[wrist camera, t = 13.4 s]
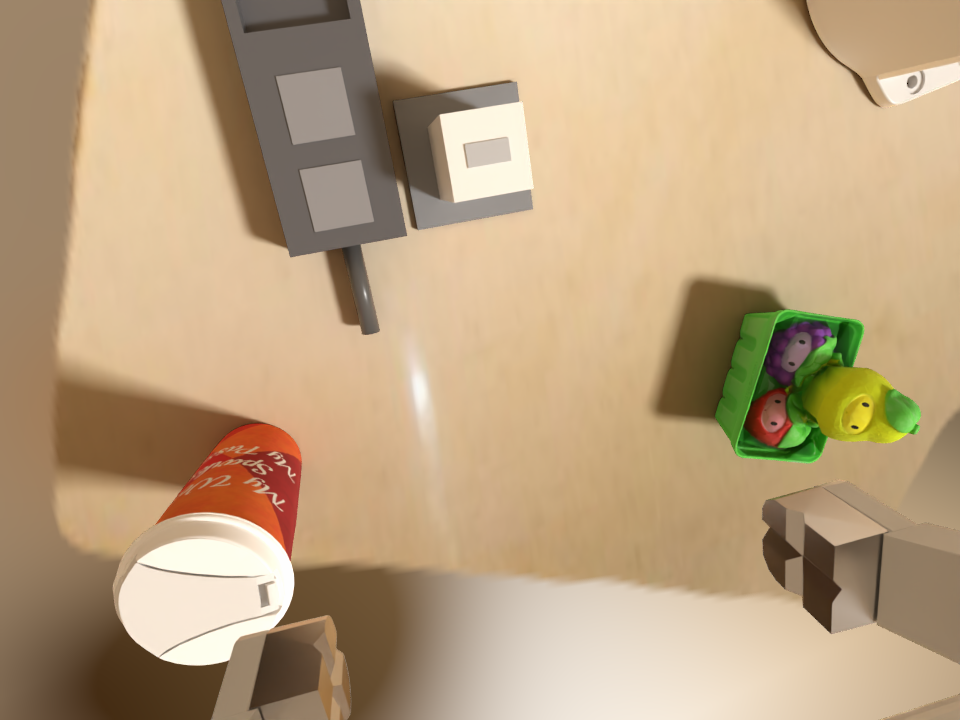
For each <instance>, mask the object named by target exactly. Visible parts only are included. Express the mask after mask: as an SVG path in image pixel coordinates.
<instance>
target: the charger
mask: <svg viewBox="0 0 960 720" xmlns="http://www.w3.org/2000/svg"><path fill="white" fill-rule="evenodd" d="M427 128H428V134H429V140H430V145H431V151H432V156H433V162H434V168H435V173H436V179H437V184H438V190H439V196H440V200H444V201H449V202H453V203H456V202H462V201H468V200H473V199H479V198H484V197H490V196H495V195H501V194H507V193H512V192H518V191H523V190H529V189H534V188H533V180H532V172H531V164H530V157H529V149H528V141H527V133H526V125H525V117H524V109H523V101H522V102H516V103H509V104H503V105H497V106H490V107H484V108H478V109H472V110H465V111H459V112H453V113H446V114H440V115H439V116H438V117H437V118H436V119H435V120H434V121H433V122H432V123H431V124H430V125H429V126H428V127H427Z"/></svg>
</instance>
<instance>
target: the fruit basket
mask: <svg viewBox="0 0 960 720" xmlns="http://www.w3.org/2000/svg"><path fill="white" fill-rule="evenodd" d="M863 334H864V326H863V324H862V323H861V322H860V321H859V320H855V319H847V318H841V317H834V316H827V315H820V314H814V313H807V312H802V311H796V310H790V309H787V310H779V311H776V312H767V313H748V314H746V315H745V316H744V319H743V322H742V326H741V329H740V337H741V338H740V339H739V340H738V342H737V343H736V346H735V349H734V353H733V356H732V360H731V366H732V368H730V370H729V372H728V373H727V377H726V380H725V383H724V387H723V397H722V398H721V400H720V401H719V404H718V407H717V410H716V414H715V418H716V419H717V421H718V423H719V424H720V426H721V427H722V429H723V430H724V432H725V433H726V435H727V436H728V438H729V439H730V441H731V445H732V447H733V449H734V451H735V453H736V454H737V455H738V456H739V457H742V458H754V459H766V460H778V461H788V462H798V463H813V462H815V461H816V460H818V459H819V458H820V456H821V455H822V452H823V449H824V446H825V443H826V441H827V438H828V437H830V438H832V439H836V440H840V441H851V442H856V441H872V442H875V443H891V442H894V441H897V440H899V439H901V438H902V437H904V436H905V435H906V434H907V433H911V434H917V432H918V431H919V428H920V426H919V425H917V424H916V423H917V422H918V421H919V419H920V417H921V412H920V409H919V407H918V405H917V404H916V403H915V402H914V401H913V400H911V399H910V398H908V397H906V396H904V395H903V394H901V393H900V392H898V391H897V390H895V389H894V388H893V387H892V386H891V384H890V383H889V382H888V381H887V380H886V379H885V378H884V377H883V376H881V375H880V374H878V373H877V372H875V371H873V370H871V369H868V368H856V367H853V365H854V362H855V359H856V356H857V353H858V350H859V347H860V344H861V341H862V338H863Z"/></svg>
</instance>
